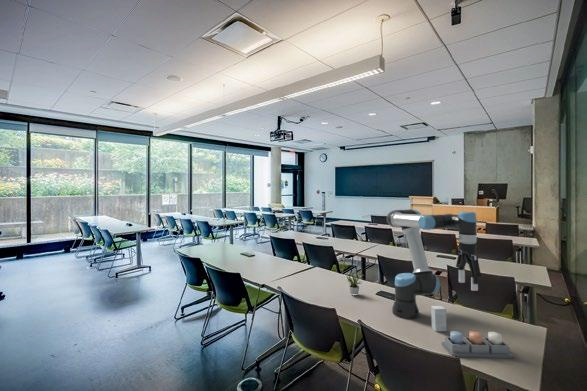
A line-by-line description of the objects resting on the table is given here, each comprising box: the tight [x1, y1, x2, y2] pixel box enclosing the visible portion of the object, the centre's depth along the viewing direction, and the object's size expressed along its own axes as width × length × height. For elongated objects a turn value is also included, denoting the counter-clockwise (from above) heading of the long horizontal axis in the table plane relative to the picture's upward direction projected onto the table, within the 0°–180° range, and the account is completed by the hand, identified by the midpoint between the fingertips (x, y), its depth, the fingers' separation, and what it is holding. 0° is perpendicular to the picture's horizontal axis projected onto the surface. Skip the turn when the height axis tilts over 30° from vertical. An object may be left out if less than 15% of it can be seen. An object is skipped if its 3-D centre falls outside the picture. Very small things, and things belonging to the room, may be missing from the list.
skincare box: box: [430, 305, 447, 333], centre depth 151 cm, size 6×4×12 cm
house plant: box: [346, 272, 364, 295], centre depth 205 cm, size 14×14×16 cm
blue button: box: [449, 330, 464, 344], centre depth 132 cm, size 5×5×4 cm
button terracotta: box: [468, 330, 483, 345], centre depth 131 cm, size 5×5×4 cm
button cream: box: [487, 331, 503, 345], centre depth 130 cm, size 5×5×4 cm
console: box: [441, 336, 514, 359], centre depth 131 cm, size 10×26×4 cm, turn 86°
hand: (467, 286), depth 142 cm, fingers open, 11 cm apart
